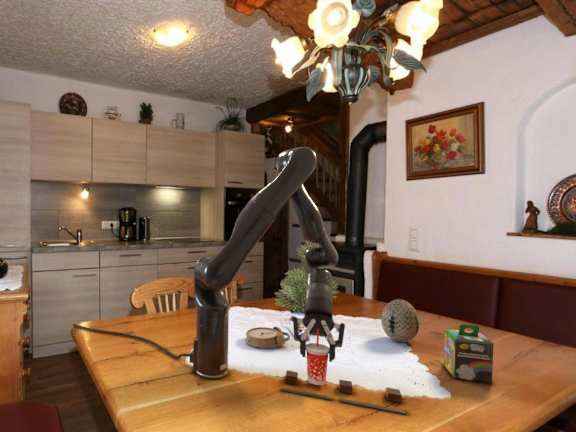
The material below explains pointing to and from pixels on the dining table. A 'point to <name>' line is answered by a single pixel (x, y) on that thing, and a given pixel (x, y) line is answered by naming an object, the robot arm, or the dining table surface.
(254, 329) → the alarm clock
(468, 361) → the chalk box
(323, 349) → the beverage cup
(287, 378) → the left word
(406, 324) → the decorative egg
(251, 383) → the dining table surface
